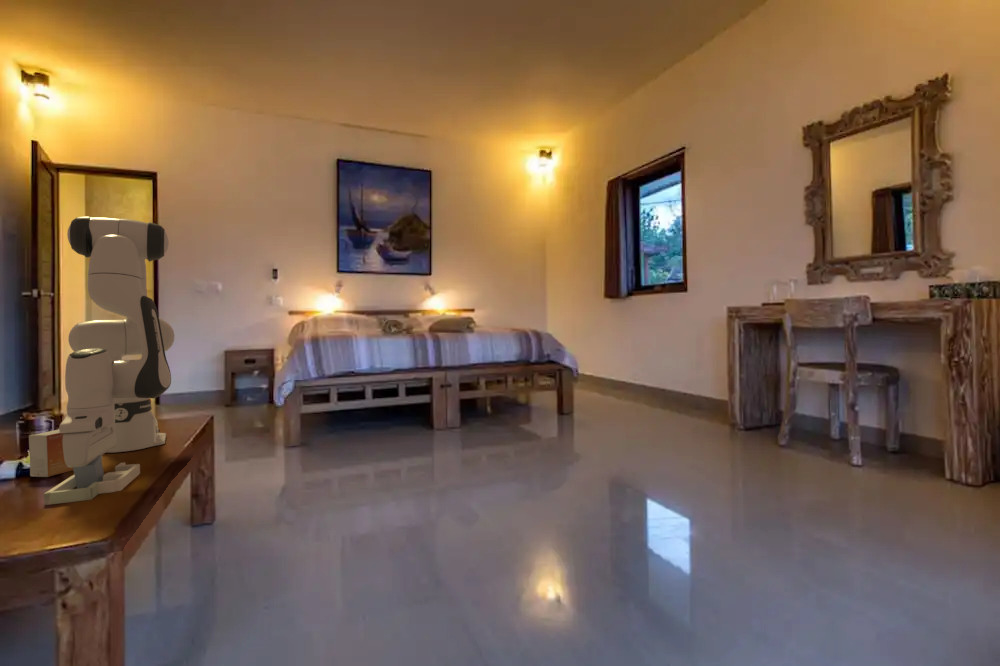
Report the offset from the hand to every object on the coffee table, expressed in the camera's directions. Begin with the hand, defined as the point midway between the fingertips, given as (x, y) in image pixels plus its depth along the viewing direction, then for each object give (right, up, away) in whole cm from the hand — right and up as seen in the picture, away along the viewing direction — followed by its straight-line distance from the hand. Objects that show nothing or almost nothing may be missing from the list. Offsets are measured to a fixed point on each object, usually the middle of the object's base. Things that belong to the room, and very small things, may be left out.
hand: (94, 475), depth 121 cm
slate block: (+1, -1, -2) cm, 3 cm away
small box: (-17, -2, +9) cm, 20 cm away
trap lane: (+3, -2, -2) cm, 4 cm away
